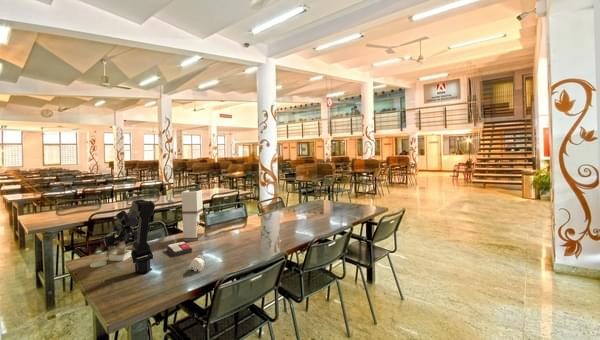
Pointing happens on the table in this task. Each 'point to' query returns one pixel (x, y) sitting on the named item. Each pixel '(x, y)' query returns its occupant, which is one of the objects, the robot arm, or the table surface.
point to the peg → (120, 248)
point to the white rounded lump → (197, 263)
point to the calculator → (179, 249)
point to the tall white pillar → (191, 214)
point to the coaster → (98, 264)
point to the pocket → (120, 256)
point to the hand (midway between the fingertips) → (119, 246)
